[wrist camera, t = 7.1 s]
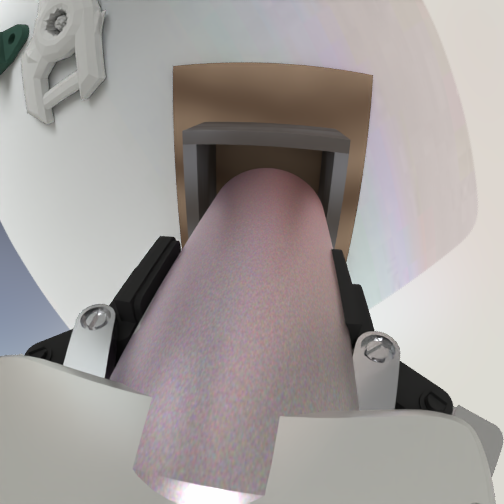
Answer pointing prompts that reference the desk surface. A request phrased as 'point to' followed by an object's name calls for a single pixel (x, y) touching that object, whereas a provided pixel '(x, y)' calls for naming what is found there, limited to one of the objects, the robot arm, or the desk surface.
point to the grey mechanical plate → (63, 54)
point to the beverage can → (239, 342)
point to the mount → (11, 44)
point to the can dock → (271, 134)
